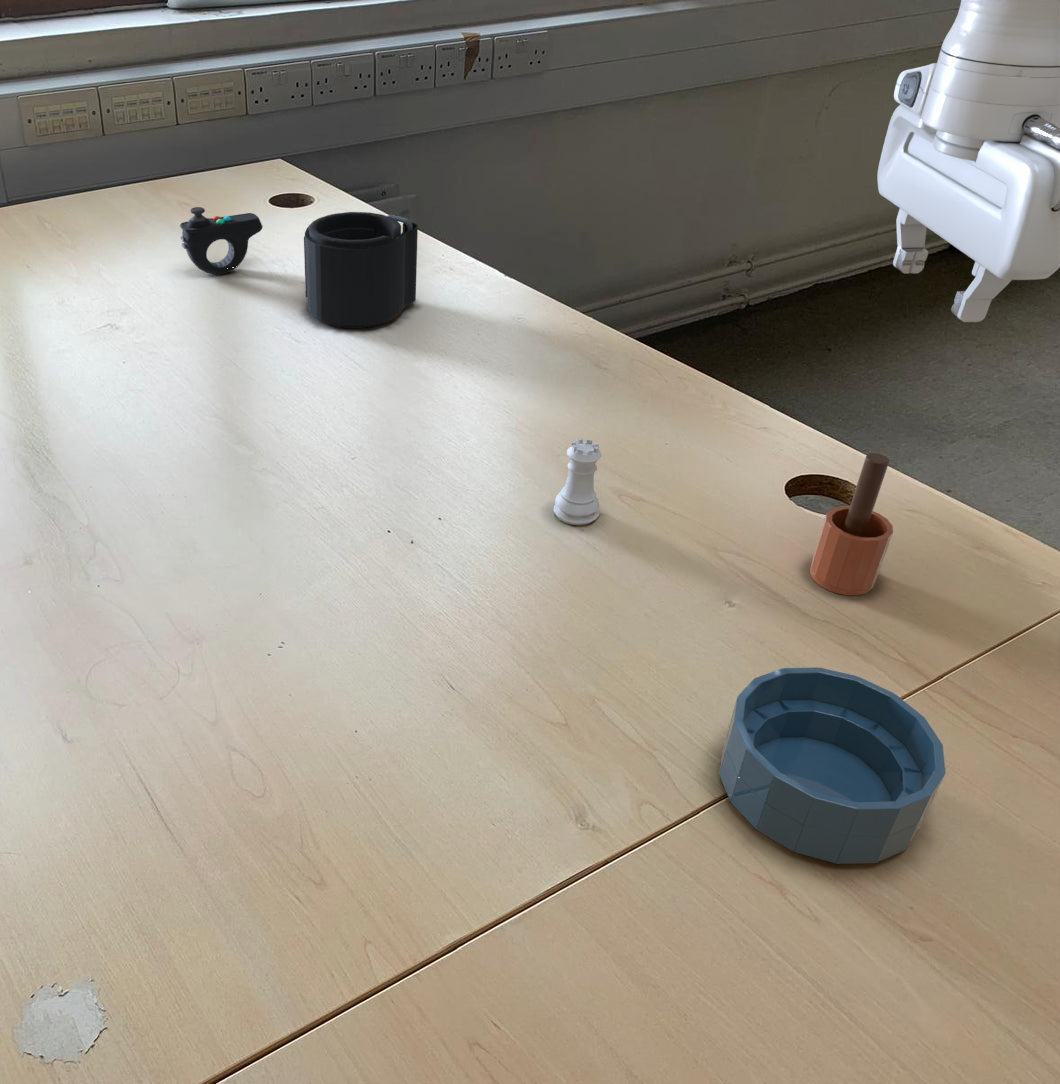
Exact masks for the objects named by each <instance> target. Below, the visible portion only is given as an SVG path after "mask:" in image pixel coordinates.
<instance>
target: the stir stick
mask: <svg viewBox="0 0 1060 1084" xmlns="http://www.w3.org/2000/svg"><path fill="white" fill-rule="evenodd" d="M889 463H890V459H889V457H888V456H886V455H884V454H881V453H878V452H870V453H868V454H866V456H865V458H864V462H863V464H862V468H861V471H860V473H859V477H858V480H857V483H856V487H855V489H854V492H853V496H852V499H851V502H850V505H849V506H850V508H849V511H848V514H847V518H846V521H845V524H844V527H843V530H842V531H844V532H846V533H849V534H851V535H854V536H859V537H864V535H865V532H866V529H867V526H868V523H869V520H870V517H871V514H872V511H874V508H875V505H876V502H877V499H878V498H879V497H878V496H879V493H880V490H881V488H882V485H883V482H884V478H885V475H886V472H887V470H888V466H889V465H890V464H889Z"/></svg>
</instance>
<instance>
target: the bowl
mask: <svg viewBox="0 0 1060 1084" xmlns="http://www.w3.org/2000/svg"><path fill="white" fill-rule="evenodd" d="M733 706H734V707H733V710H732V714H731V717H730V720H729V725H728V728H727V731H726V736H725V738H724V743H723V745H722V749H721V751H722V752H721V758H720V763H719V770H718V771H719V773H718V774H719V777H720V779H721V782H722V785H723V788H724V789H725V791H726V795H727V797H728V799H729V801H730V803H731V804H732V805H733V807H734V808H735V809H736V810H737V811H738V812H739V813H740V814H741V815H742V816H743V817H744V819H746V820H747V822H749V824H750V825H751V826H752V827H753V828H754V829H755V830H757V832H759V833H761V834H762V835H764V836H766V837H768V838H770V839H771V840H773V841H775V842H776V843H778V844H780V845H781V846H783V847H785V848H787V849H788V850H790V851H792V852H794V853H796V854H800V855H804V856H808V857H811V858H815V859H819V860H822V861H825V862H828V863H832V864H837V865H840V864H841V865H843V864H844V865H845V864H877V863H879V862H881V861H883V860H886V859H888V858H890V857H893V856H895V855H897V854H899V853H902V852H904V851H906V850H907V849H908V847H909V846H910V844H911V843H912V842H913V840H914V838H915V836H916V835H917V833H918V832H919V830H920V829H921V827H922V825H923V823H924V820H925V819H926V817H927V815H928V813H929V811H930V807H931V806H932V804H933V801H934V799H935V797H936V795H937V793H938V791H939V789H940V786H941V784H942V782H943V780H944V777H945V775H946V764H945V754H944V744H943V743H942V742H941V739H940V738H939V737H938V735H937V733H936V732H935V731H934V729H933V727H932V726H931V725H930V723H929V721H928V720H927V718H926V717H924V716H923V715H922V714H921V713H920V712H918V710H916V709H914V707H912V706H911V705H910V704H909V703H907V702H906V701H904V699H902V698H901V697H900V696H899V695H897V694H896V693H894V692H893V691H890V690H889V689H886V688H884V687H882V686H879V685H878V684H875V683H874V682H872V681H869V680H867V679H865V678H863V677H861V676H858V675H855V674H850V673H846V672H841V671H837V670H832V669H829V668H828V669H827V668H824V667H817V666H816V667H814V666H813V667H783V668H779V669H777V670H773V671H770V672H768V673H765V674H763V675H759V676H757V677H755V678H753V679H752V680H751V681H750V682H749V683H748V684H747V686H745V688H744V689H743V690H741V692H740V693H739V694H738V695H737V697H736V699H735V703H734V705H733Z"/></svg>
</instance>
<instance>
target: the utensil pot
mask: <svg viewBox="0 0 1060 1084" xmlns="http://www.w3.org/2000/svg"><path fill="white" fill-rule="evenodd" d="M849 508H850V505H841V506H837V507H833V508H832V509H830V510H829V511H828V512H827V513H826V514H825V518H824V521H823V524H822V527H821V530H820V534H819V537H818V539H817V544H816V547H815V550H814V553H813V556H812V560H811V565H810V567H809V568H810V569H809V575H810V577H811V579H812V580H813V582H815V584H817V585H818V586H819V587H820V588H821V587H822V588H823V589H825V590H826V591H829V592H831V593H835V594H837V595H844V596H861V595H865V594H867V593H869V592H871V591H872V589H873V588H874V586H875V583H876V582H877V579H878V576H879V573H880V570H881V568H882V566H883V563H884V559H885V557H886V553H887V551H888V548H889V546H890V543H891V540H892V537H893V534H894V526H893V525H892V524H893V523H891V521H889V519H888V518H887V517H885V516H884V515H882V514H880V513H879V512H877V511H874V510H873V511H872V514H871V517H870V520H869V523H868V526H867V529H866V532H865V535H864V537H859V536H854V535H851V534H849V533H846V532H844V531H842V530H843V527H844V524H845V521H846V518H847V514H848V511H849Z"/></svg>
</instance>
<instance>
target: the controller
mask: <svg viewBox="0 0 1060 1084" xmlns="http://www.w3.org/2000/svg"><path fill="white" fill-rule="evenodd" d="M205 212H206V209H205V208H204V207H201V206H195V207H192V208H191V209H190V213H191V214H193V216H192V217H191V218H190V219H189V220H188V221H184V222H181V223H180V224H179V226H180V229H181V230H182V232H181V233H182V235H181V236H180V240H181V241H182V243H181V247H182V248H183V249H184V250H185V251H186V253H187V256H188V258H189V259H190V261H191V263H193V265H194V266H196V267H197V268H198V269H199V270H201V271H202V272H203V273H204V272H205V273H206V274H210V275H217V276H218V275H223V274H228V273H230V272H231V271H233V270H235V269H236V268H237V267H239V265H240V264H241V263H242V262H243V261H244V259H245V257H246V255H247V252H248V248H249V240H250V239H251V238H252V237H253V236H255V235H256V234H258V233H260V232H261V231H262V230H263V228H264V227H263V224H262V221H261V219H260V218H259V216H257V214H255V213H252V212H246V213H239V214H233V215H225V216H218V215H215V216H214V217H213V218H210V217H206V216H204V213H205ZM220 240H223V241H224V240H225V241H226V242H227V244H228V250H227V253H226V255H225V256H224V258H223V259H221V260H219V261H216V262H212V261H210V260H209V259H208V255H207V254H208V249H209V248H210V246H211V245H212V244H214V242H217V241H220ZM236 266H237V267H236ZM232 267H234V268H232ZM227 268H228V269H227Z"/></svg>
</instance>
